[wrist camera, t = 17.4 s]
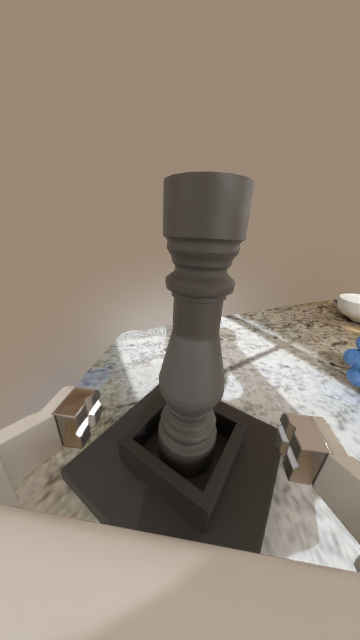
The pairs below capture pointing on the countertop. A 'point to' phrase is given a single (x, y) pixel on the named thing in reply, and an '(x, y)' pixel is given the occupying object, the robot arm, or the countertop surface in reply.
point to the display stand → (180, 479)
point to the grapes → (353, 364)
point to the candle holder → (198, 309)
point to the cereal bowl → (350, 306)
